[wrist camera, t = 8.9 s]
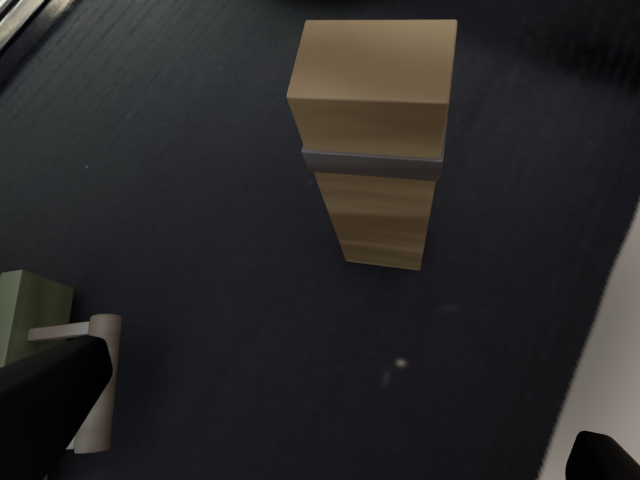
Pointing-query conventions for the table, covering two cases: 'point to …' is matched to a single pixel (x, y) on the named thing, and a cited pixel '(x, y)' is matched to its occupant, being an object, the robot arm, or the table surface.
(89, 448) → the drawer
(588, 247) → the table surface
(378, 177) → the block
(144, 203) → the table surface
